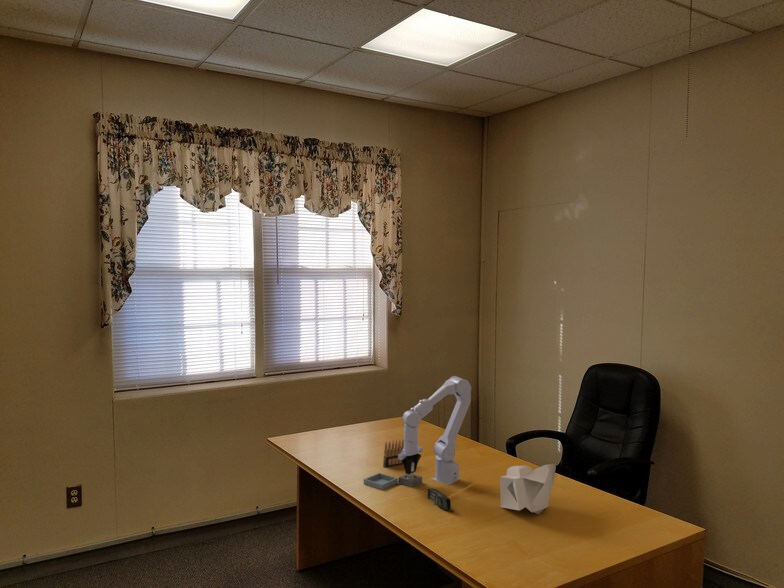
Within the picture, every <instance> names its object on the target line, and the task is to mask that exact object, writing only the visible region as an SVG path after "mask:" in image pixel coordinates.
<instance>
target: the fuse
mask: <svg viewBox="0 0 784 588" xmlns="http://www.w3.org/2000/svg"><path fill="white" fill-rule="evenodd" d="M414 474H415V472H414V462H412V466H411V474H407V478H408V479H414Z"/></svg>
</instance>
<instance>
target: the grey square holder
mask: <svg viewBox="0 0 784 588" xmlns="http://www.w3.org/2000/svg"><path fill="white" fill-rule="evenodd" d="M422 483H423V476H422V475H418V474H415V473H414V479H408V478H407V474H406V473H405V474H403V475H400V476H399V477H398V484H399V485H403V486H407V487H410V488H414V487H416V486H418V485H420V484H422Z"/></svg>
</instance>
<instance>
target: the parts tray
mask: <svg viewBox="0 0 784 588" xmlns="http://www.w3.org/2000/svg"><path fill="white" fill-rule="evenodd" d="M397 484H399V477H395V476H391V475H388V474H385V473H381V472H378V473H376V474H373V475H370V476H368V477H366V478H363V485H365V486H369V487H371V488H375V489H378V490H381V491H383V490H386V489H387V488H389V487H392V486H394V485H397Z"/></svg>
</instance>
